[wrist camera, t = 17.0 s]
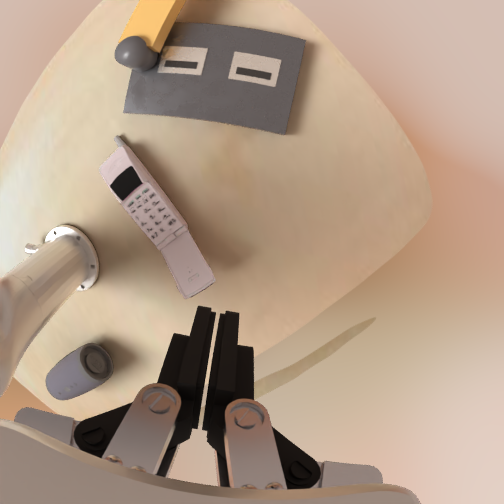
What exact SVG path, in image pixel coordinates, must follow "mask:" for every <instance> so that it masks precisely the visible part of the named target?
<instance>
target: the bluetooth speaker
mask: <svg viewBox="0 0 504 504" xmlns="http://www.w3.org/2000/svg"><path fill="white" fill-rule="evenodd" d="M112 373H113V362H112V359H111V357H110V355H109V354H108V353H107V352H106V351H105V350H104V349H103V348H102V347H101V346H99V345H98V344H95V343H89V344H86V345H84V346H82V347H80V348H78V349H77V350H75V351H73V352H71V353H70V354H68V355H67V356H66V357H64V358H63V359H62V360H60V361H59V362H58V363H57V364H56V365H55V366H54V367H53V368H52V369H51V370H50V372H49V373H48V374H47V377H46V387H47V390H48V391H49V393H50V394H51V395H52V396H53V397H54V398H56V399H58V400H68V399H72V398H75V397H77V396H80V395H82V394H84V393H86V392H88V391H90V390H92V389H94V388H96V387H98V386H99V385H101V384H103V383H104V382H105V381H106V380H108V379H109V378H110V377H111V375H112Z"/></svg>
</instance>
